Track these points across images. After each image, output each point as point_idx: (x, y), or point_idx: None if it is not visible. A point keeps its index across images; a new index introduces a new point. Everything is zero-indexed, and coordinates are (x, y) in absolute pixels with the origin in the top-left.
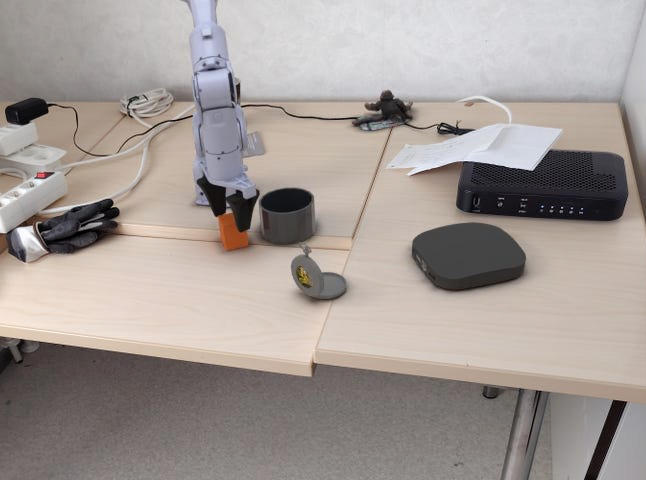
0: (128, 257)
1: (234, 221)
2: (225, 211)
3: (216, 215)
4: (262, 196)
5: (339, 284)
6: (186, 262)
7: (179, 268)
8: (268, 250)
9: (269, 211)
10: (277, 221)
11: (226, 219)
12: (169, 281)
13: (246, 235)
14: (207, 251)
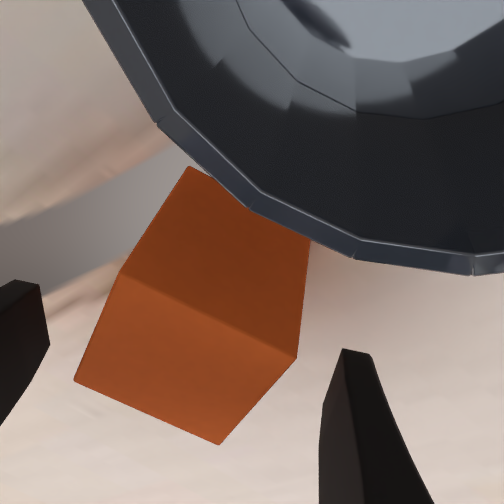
0: (13, 461)
1: (232, 390)
2: (29, 294)
3: (43, 353)
4: (96, 8)
5: None
6: None
7: (200, 451)
8: None
9: (480, 261)
10: None
11: (162, 391)
12: (242, 498)
13: (303, 277)
14: None
